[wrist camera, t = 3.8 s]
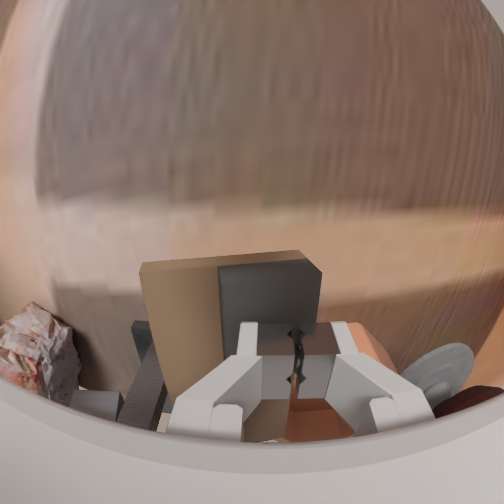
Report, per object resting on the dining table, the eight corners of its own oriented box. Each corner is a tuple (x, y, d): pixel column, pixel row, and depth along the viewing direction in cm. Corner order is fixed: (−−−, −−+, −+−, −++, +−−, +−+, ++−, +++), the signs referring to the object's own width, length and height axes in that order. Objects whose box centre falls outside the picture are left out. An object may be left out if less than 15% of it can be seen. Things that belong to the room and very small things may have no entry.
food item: (23, 286, 20) (-38, 341, 11) (84, 316, 21) (25, 391, 12) (43, 375, 25) (8, 427, 16) (94, 401, 26) (65, 463, 17)
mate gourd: (388, 433, 27) (423, 555, 9) (359, 386, 23) (410, 572, 5) (485, 372, 24) (546, 476, 5) (485, 303, 20) (594, 436, 1)
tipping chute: (92, 429, 18) (83, 504, 11) (7, 241, 12) (-76, 311, 4) (258, 421, 21) (285, 499, 14) (263, 216, 15) (340, 291, 7)
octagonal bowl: (257, 412, 24) (257, 448, 20) (259, 325, 20) (259, 367, 16) (364, 404, 24) (374, 437, 20) (395, 319, 20) (418, 354, 16)
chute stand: (161, 404, 25) (134, 497, 14) (135, 320, 21) (72, 432, 10) (218, 410, 25) (205, 510, 14) (207, 325, 21) (175, 459, 10)
